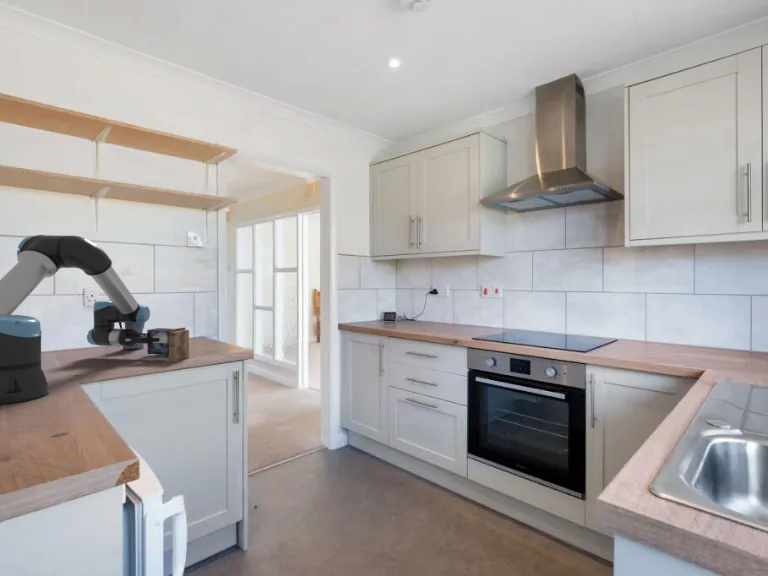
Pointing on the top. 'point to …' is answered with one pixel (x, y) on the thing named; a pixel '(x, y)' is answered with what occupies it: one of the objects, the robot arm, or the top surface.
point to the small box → (158, 347)
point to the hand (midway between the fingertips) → (173, 338)
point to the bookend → (174, 346)
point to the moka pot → (139, 329)
